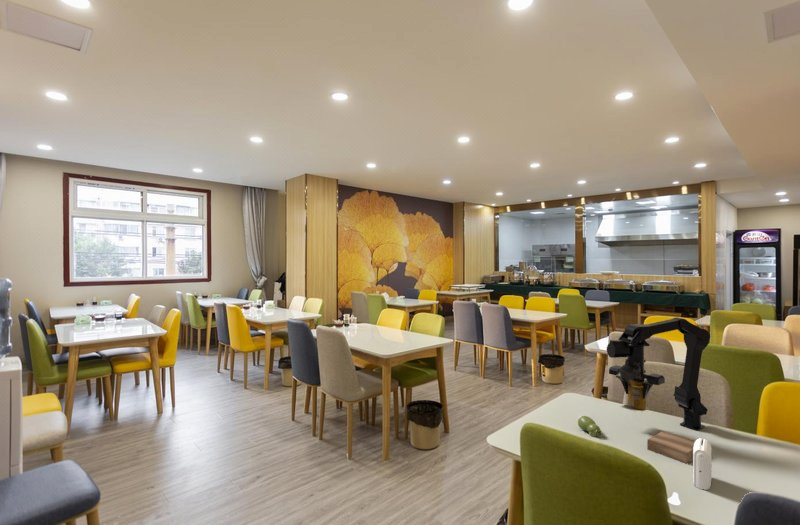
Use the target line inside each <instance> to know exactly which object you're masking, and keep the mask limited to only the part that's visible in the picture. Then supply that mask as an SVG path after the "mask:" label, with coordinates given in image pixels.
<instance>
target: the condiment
mask: <svg viewBox="0 0 800 525" xmlns="http://www.w3.org/2000/svg"><path fill="white" fill-rule="evenodd" d="M642 382H645V379H642V378H638V377H635V378H634V379H633V380H629V383H628V394H627V404H624V405H621V406H620V408H623V409H626V410H628V411H631V412H635V413H639V414H640V413H642V412H644V411H647V410H650V409H651V408H650V407H648V406H646V399H647V397H646V398H645V399H643V384H642Z"/></svg>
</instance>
